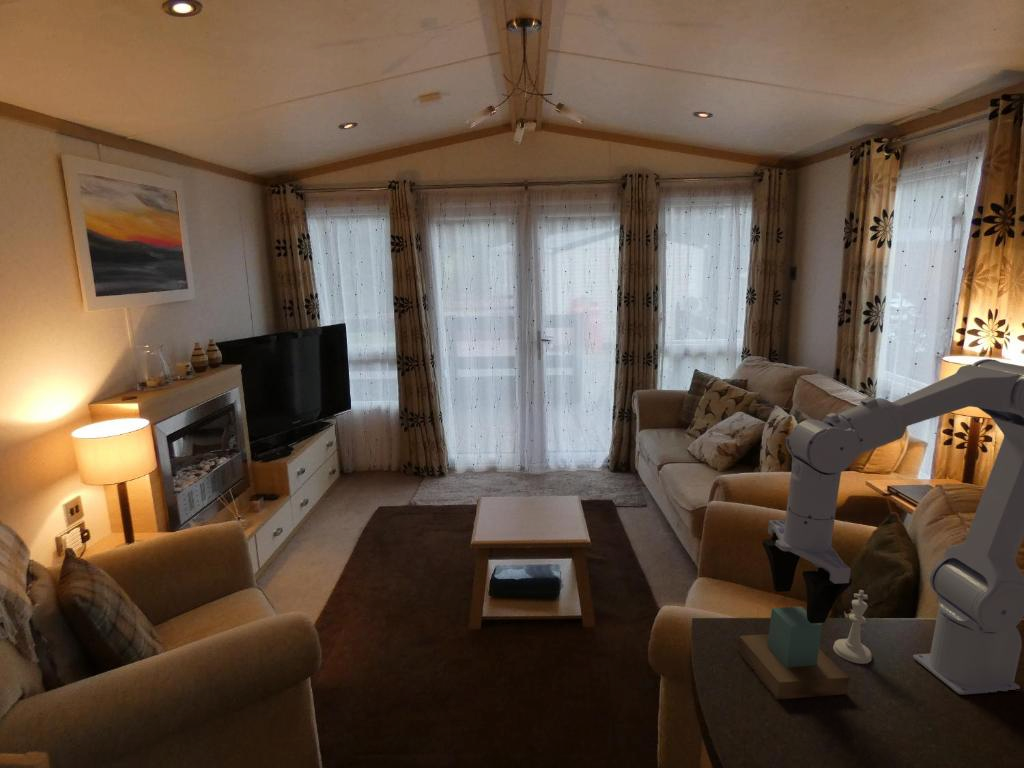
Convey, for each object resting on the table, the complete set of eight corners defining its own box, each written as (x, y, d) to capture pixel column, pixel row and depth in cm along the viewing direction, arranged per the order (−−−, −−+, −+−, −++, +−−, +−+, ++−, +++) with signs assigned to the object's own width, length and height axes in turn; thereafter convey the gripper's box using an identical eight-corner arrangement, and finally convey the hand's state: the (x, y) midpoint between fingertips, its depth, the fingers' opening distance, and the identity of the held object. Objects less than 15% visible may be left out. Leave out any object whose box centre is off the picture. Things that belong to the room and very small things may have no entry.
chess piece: (877, 666, 84) (887, 602, 82) (839, 660, 85) (849, 597, 83) (864, 645, 89) (873, 584, 87) (828, 640, 90) (837, 580, 88)
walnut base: (800, 647, 88) (802, 632, 88) (846, 694, 78) (849, 677, 78) (737, 651, 87) (739, 635, 86) (776, 699, 77) (779, 682, 76)
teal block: (796, 644, 84) (801, 606, 83) (816, 665, 80) (822, 624, 79) (767, 646, 84) (771, 608, 83) (786, 667, 79) (791, 627, 78)
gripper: (752, 491, 84) (743, 579, 87) (818, 536, 70) (804, 639, 73) (798, 490, 85) (787, 577, 88) (871, 534, 71) (856, 635, 74)
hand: (798, 605), depth 81 cm, fingers open, 7 cm apart
